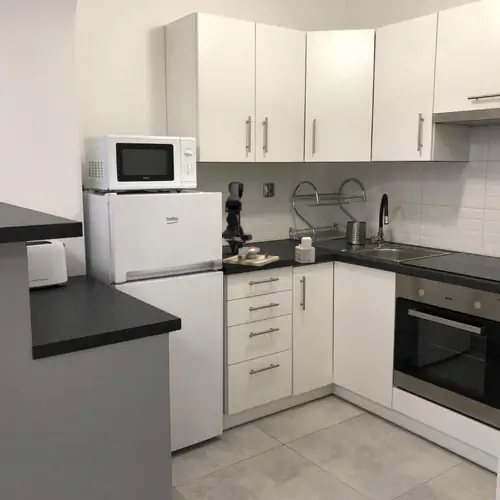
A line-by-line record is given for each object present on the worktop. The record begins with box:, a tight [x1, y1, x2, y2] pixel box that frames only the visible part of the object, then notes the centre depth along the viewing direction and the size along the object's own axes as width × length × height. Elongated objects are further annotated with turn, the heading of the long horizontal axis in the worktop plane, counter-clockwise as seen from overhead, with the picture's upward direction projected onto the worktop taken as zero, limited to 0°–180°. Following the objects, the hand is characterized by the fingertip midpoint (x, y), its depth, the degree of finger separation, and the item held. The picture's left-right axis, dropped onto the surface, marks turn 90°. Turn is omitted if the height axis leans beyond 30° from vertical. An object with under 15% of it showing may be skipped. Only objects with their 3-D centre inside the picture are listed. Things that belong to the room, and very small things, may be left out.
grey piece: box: [238, 246, 261, 256], centre depth 288 cm, size 16×9×4 cm, turn 151°
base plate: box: [222, 252, 280, 267], centre depth 291 cm, size 22×22×5 cm
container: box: [294, 236, 316, 264], centre depth 288 cm, size 8×8×13 cm
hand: (233, 253), depth 285 cm, fingers closed
